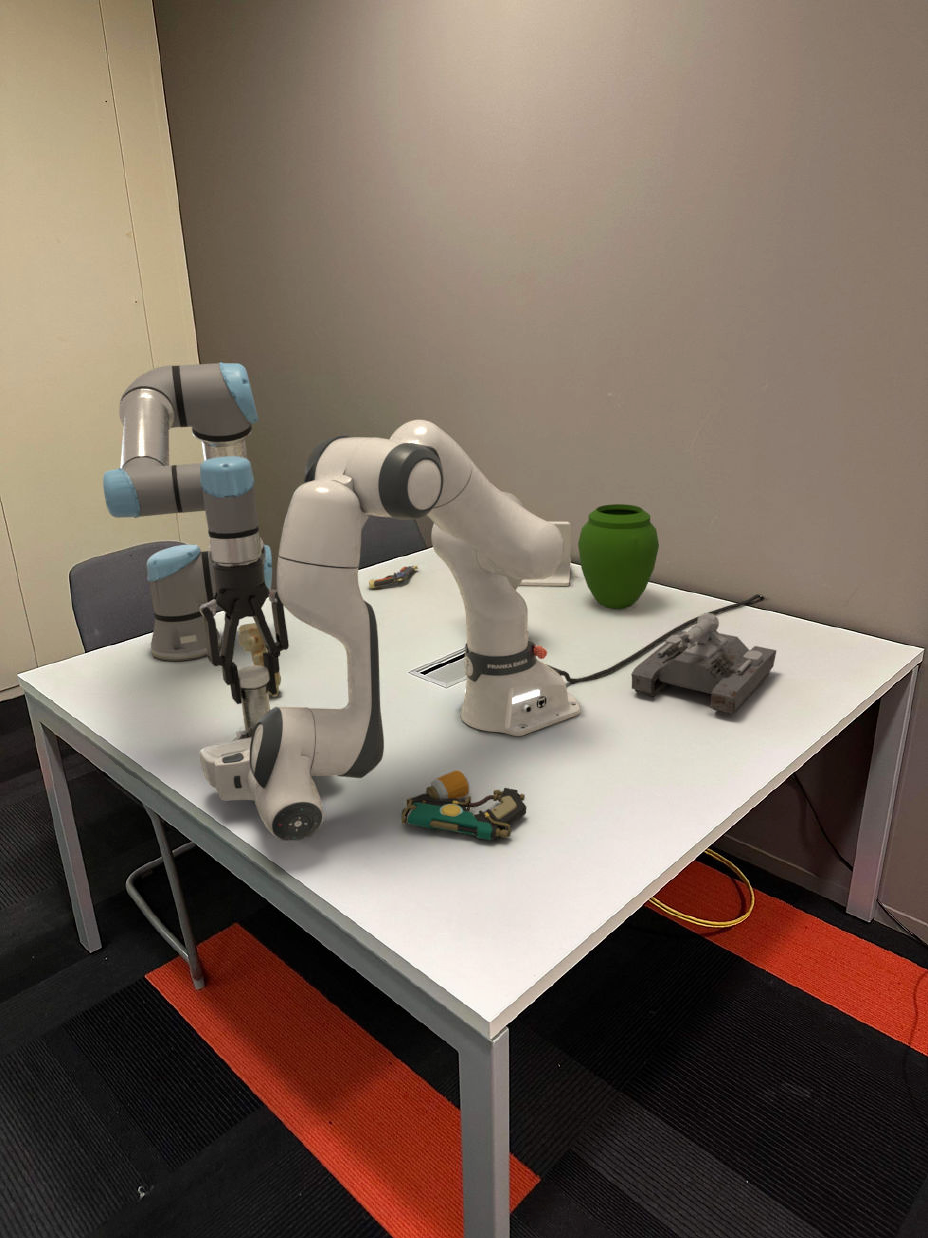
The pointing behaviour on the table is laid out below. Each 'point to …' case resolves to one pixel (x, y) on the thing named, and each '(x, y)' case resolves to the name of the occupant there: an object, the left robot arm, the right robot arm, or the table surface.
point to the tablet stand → (563, 571)
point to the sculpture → (255, 647)
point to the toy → (706, 665)
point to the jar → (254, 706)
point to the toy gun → (393, 577)
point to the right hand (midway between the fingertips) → (258, 731)
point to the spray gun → (463, 808)
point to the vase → (618, 554)
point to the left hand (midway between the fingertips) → (254, 695)
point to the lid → (253, 676)
